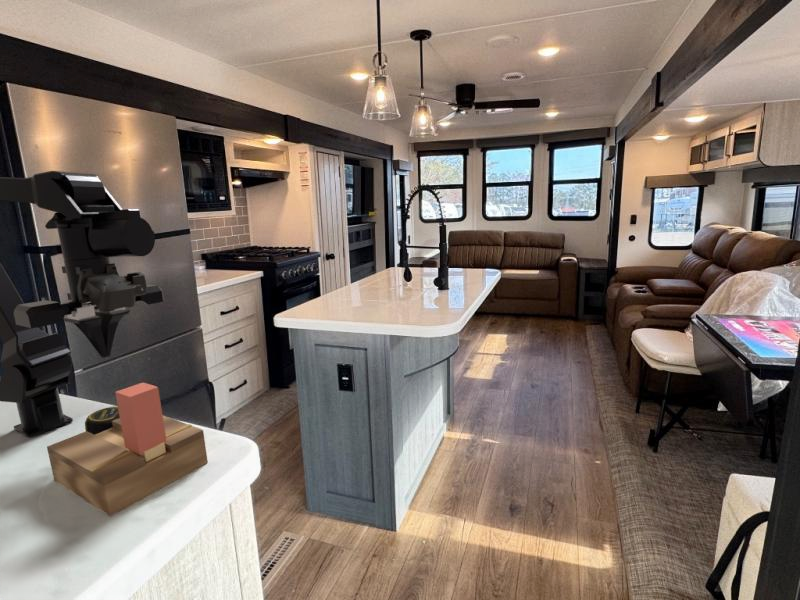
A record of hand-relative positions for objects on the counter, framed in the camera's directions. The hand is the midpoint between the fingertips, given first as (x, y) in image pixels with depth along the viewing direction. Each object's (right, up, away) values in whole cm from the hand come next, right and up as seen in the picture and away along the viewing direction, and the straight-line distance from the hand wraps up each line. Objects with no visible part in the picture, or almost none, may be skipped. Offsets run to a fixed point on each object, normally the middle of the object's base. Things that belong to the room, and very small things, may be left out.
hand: (105, 357), depth 71 cm
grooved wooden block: (+9, -15, -9) cm, 19 cm away
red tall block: (+13, -11, -12) cm, 21 cm away
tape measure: (0, -13, +3) cm, 14 cm away
